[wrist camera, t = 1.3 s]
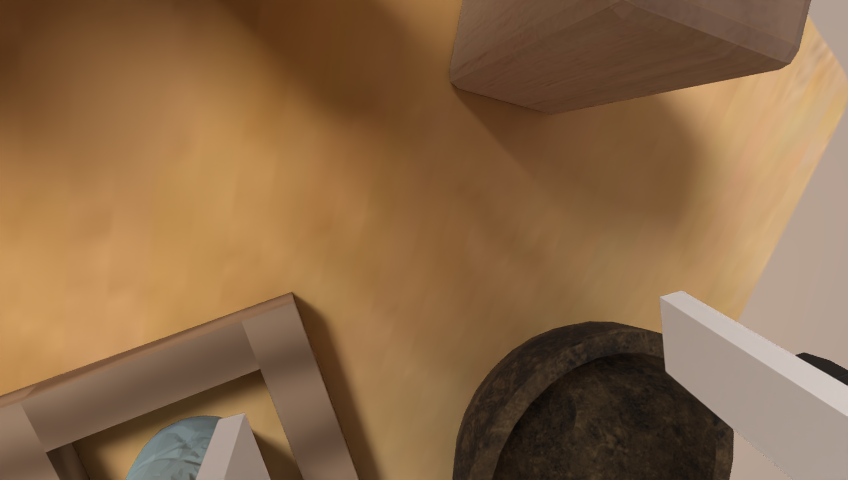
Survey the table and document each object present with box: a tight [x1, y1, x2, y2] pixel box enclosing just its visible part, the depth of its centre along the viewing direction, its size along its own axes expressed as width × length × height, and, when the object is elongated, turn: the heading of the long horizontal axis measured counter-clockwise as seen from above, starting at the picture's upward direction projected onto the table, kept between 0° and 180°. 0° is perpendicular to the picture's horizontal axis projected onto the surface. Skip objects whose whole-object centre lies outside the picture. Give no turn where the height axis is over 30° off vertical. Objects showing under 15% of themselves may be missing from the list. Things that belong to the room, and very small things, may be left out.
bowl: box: [452, 321, 734, 480], centre depth 40 cm, size 22×22×10 cm
